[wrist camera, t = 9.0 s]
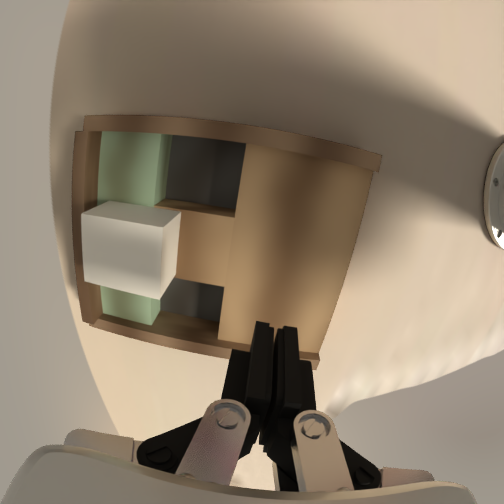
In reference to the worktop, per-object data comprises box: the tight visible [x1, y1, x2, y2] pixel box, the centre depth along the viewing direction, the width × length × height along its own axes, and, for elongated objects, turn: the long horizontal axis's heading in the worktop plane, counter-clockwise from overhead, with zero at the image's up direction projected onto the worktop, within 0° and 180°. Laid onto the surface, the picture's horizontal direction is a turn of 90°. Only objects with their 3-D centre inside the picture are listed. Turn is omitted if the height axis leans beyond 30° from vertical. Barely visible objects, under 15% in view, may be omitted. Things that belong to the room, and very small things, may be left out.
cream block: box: [81, 201, 181, 300], centre depth 19 cm, size 6×5×4 cm
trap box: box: [72, 115, 382, 370], centre depth 22 cm, size 21×18×5 cm
